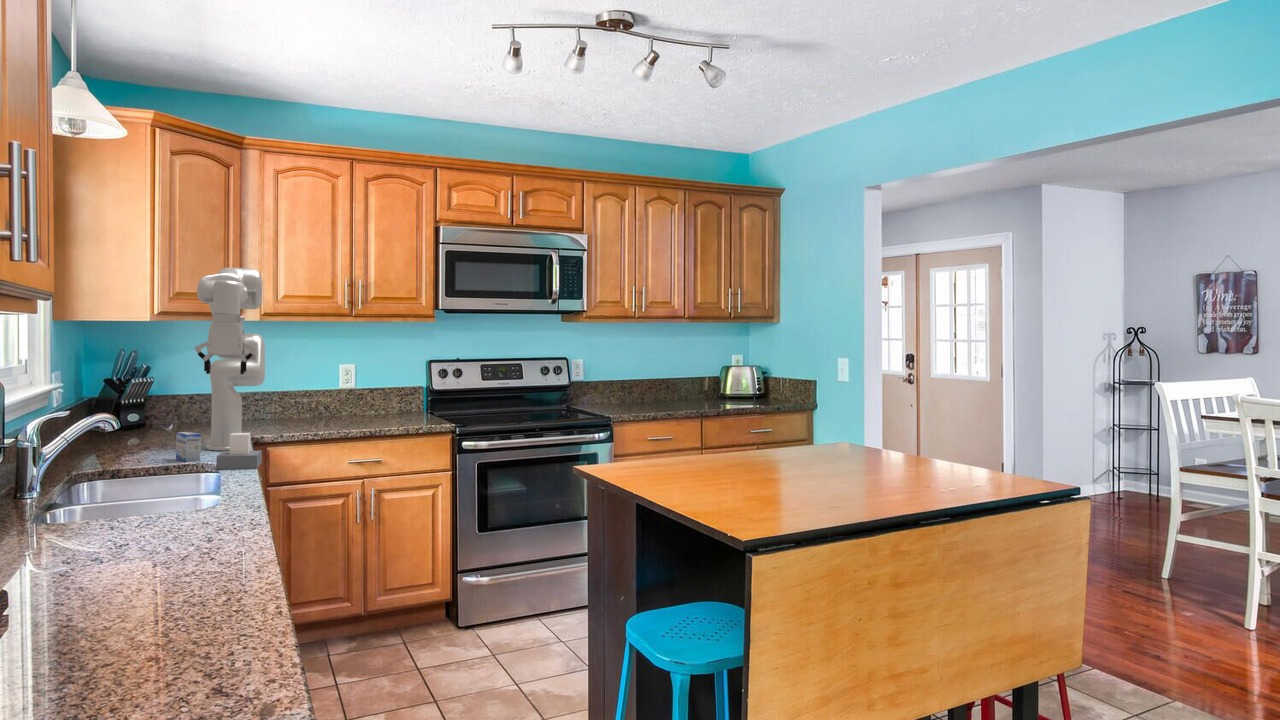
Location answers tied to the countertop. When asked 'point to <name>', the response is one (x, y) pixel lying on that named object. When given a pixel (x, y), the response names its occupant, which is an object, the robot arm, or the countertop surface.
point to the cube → (239, 443)
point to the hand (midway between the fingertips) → (225, 373)
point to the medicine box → (188, 446)
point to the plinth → (239, 460)
